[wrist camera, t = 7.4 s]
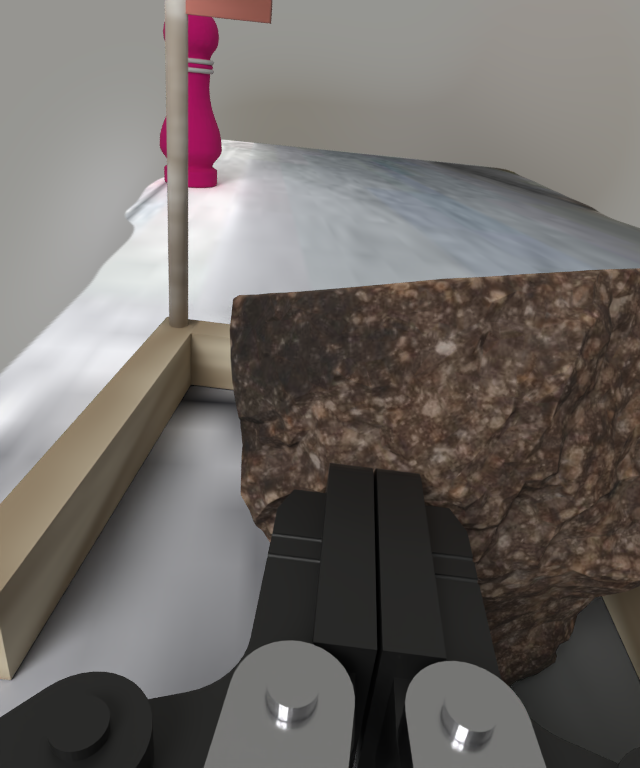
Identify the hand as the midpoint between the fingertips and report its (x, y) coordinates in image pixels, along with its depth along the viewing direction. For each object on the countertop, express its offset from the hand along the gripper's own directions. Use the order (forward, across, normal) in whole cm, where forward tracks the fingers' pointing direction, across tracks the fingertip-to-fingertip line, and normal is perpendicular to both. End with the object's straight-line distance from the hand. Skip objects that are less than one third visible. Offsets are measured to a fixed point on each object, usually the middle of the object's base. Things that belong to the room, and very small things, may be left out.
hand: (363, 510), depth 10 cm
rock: (+4, -2, +6) cm, 8 cm away
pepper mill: (+67, +21, +7) cm, 71 cm away
